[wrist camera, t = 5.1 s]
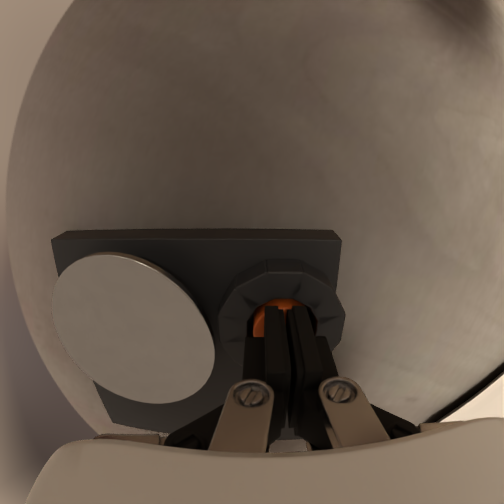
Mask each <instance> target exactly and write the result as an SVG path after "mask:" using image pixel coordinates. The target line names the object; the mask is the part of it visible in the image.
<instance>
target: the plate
mask: <svg viewBox="0 0 504 504" xmlns="http://www.w3.org/2000/svg"><path fill="white" fill-rule="evenodd" d="M485 417H501V418H504V371H503V372H502V373H501V374H500V375H499V376H497V377H496V378H495V379H494V380H493V381H491V382H490V383H489V384H488V385H487V386H485V387H484V388H483V389H481V390H480V391H479V392H478V393H476V394H475V395H474V396H472V397H471V398H470V399H468V400H467V401H466V402H464V403H463V404H461V405H460V406H458V407H457V408H456V409H454V410H453V411H451V412H450V413H448V414H447V415H445V416H444V417H442V418H441V419H439V420H438V421H437V422H436V423H438V422H451V421H467V420H472V419H476V418H485Z"/></svg>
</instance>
